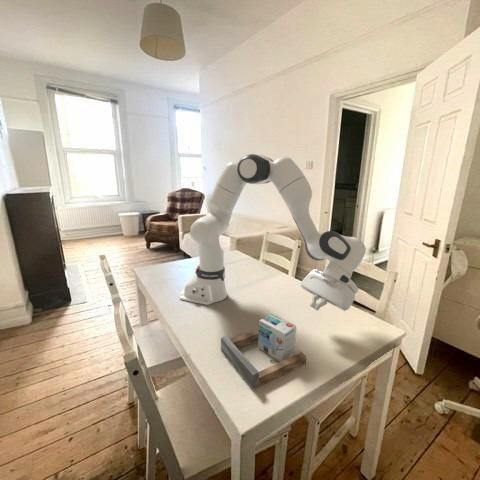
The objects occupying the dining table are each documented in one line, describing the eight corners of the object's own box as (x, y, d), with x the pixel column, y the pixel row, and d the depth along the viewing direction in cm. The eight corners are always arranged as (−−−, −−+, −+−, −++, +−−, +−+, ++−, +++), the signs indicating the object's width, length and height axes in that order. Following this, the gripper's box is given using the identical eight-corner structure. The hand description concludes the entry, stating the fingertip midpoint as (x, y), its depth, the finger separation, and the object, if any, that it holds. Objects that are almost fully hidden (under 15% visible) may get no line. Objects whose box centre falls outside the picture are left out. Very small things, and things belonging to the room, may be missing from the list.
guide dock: (268, 332, 100) (269, 320, 98) (305, 363, 84) (306, 350, 83) (221, 350, 90) (220, 337, 88) (252, 390, 74) (252, 375, 73)
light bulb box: (257, 347, 91) (258, 319, 88) (269, 339, 96) (271, 312, 93) (282, 363, 84) (284, 334, 81) (295, 353, 88) (297, 325, 86)
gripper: (310, 263, 104) (289, 292, 102) (356, 282, 87) (332, 317, 85) (317, 272, 107) (297, 300, 105) (362, 292, 91) (340, 325, 88)
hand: (313, 308), depth 95 cm, fingers closed
